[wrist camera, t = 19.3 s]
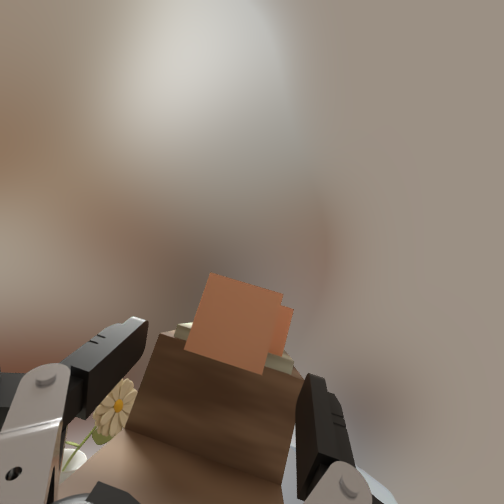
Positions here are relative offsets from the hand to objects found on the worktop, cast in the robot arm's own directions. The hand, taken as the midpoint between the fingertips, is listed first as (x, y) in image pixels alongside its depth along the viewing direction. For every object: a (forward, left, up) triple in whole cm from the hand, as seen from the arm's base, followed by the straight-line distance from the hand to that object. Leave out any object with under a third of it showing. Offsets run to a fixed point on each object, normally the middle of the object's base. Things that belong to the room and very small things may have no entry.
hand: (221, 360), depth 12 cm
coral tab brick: (+7, +7, 0) cm, 10 cm away
